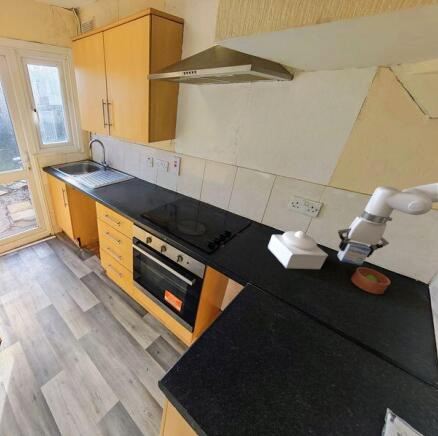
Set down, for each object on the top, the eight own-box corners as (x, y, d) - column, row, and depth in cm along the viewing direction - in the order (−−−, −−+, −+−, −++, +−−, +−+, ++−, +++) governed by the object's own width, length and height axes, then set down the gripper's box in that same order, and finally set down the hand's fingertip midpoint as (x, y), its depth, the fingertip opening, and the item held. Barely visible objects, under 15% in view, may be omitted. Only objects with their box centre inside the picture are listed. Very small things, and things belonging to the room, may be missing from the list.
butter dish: (297, 248, 126) (308, 223, 119) (320, 269, 110) (335, 242, 103) (267, 247, 125) (276, 222, 118) (286, 268, 109) (298, 241, 101)
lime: (371, 283, 102) (377, 274, 100) (375, 290, 98) (382, 281, 96) (358, 279, 104) (363, 271, 102) (361, 286, 100) (367, 277, 98)
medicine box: (340, 261, 100) (349, 245, 96) (336, 255, 104) (345, 239, 100) (361, 265, 98) (371, 249, 94) (356, 260, 102) (366, 244, 98)
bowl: (377, 282, 104) (384, 272, 101) (387, 298, 95) (395, 288, 92) (347, 274, 108) (353, 264, 105) (354, 289, 99) (361, 278, 96)
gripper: (397, 219, 91) (375, 254, 99) (345, 208, 97) (328, 242, 105) (406, 226, 85) (382, 263, 93) (350, 215, 91) (331, 250, 99)
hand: (353, 252), depth 99 cm, fingers closed on medicine box, 8 cm apart
